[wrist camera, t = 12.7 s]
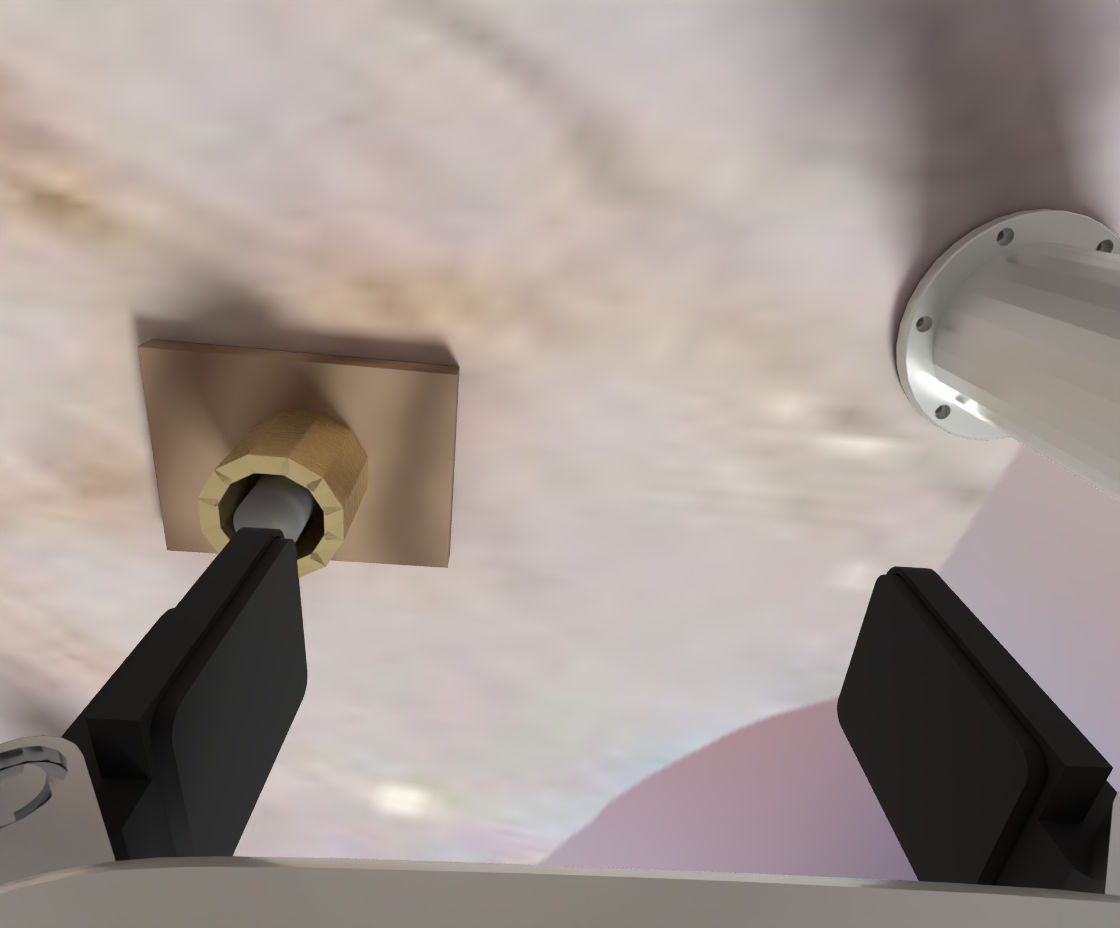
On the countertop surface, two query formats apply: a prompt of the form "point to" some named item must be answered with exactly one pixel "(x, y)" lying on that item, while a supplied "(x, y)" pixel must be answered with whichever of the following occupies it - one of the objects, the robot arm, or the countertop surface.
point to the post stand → (315, 385)
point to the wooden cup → (303, 456)
